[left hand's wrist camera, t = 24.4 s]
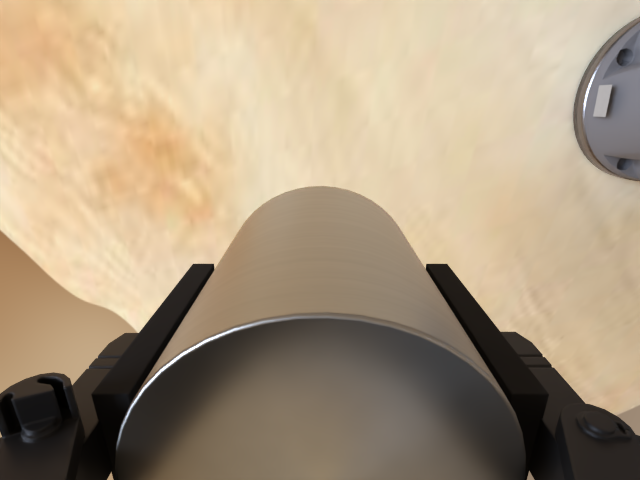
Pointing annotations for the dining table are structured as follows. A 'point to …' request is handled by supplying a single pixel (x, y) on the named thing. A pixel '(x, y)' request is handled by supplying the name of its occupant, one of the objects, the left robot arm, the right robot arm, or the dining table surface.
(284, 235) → the tin
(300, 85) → the dining table surface
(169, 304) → the left robot arm
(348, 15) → the dining table surface
